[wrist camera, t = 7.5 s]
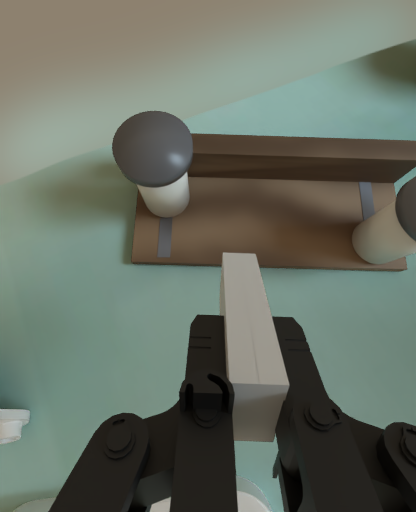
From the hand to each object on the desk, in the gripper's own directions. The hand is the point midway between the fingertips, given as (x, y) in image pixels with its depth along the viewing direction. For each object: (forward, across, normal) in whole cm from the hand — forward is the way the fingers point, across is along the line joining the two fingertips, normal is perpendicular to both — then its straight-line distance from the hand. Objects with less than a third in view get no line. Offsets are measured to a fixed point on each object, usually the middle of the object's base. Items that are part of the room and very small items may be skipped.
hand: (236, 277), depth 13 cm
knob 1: (+15, -6, -1) cm, 16 cm away
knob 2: (+13, +14, -4) cm, 20 cm away
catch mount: (+16, +4, -3) cm, 17 cm away
